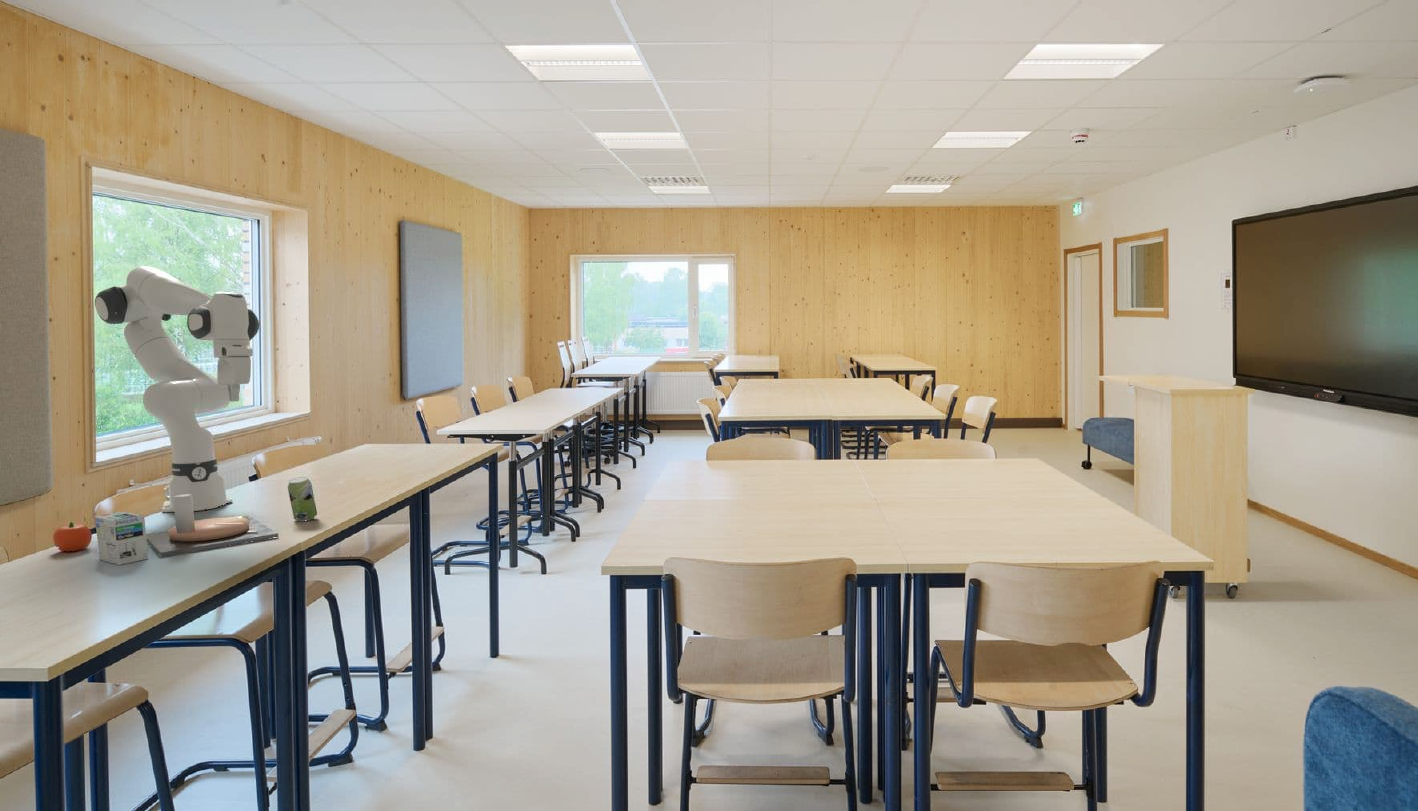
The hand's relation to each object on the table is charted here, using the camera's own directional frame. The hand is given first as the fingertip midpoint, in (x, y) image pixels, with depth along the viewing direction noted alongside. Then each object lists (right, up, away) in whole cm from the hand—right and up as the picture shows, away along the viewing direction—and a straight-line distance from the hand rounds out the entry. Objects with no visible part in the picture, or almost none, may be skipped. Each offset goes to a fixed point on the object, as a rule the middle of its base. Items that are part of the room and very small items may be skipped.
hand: (234, 401), depth 247 cm
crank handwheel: (+2, -34, -15) cm, 37 cm away
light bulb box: (-9, -38, -33) cm, 51 cm away
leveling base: (+2, -35, -14) cm, 38 cm away
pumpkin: (-28, -37, -23) cm, 52 cm away
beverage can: (+17, -33, +4) cm, 38 cm away
